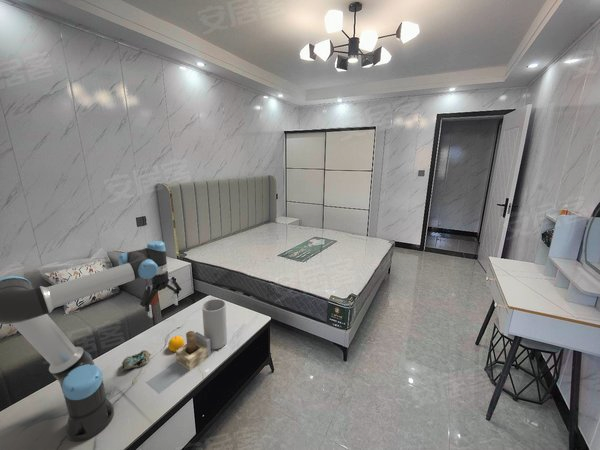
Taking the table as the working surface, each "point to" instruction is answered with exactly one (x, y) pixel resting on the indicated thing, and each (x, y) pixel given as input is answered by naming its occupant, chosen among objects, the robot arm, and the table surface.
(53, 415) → the table surface
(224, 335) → the cylinder vase
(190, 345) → the dowel
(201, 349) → the block
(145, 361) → the mineral specimen
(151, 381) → the grey corner bracket
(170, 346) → the orange
